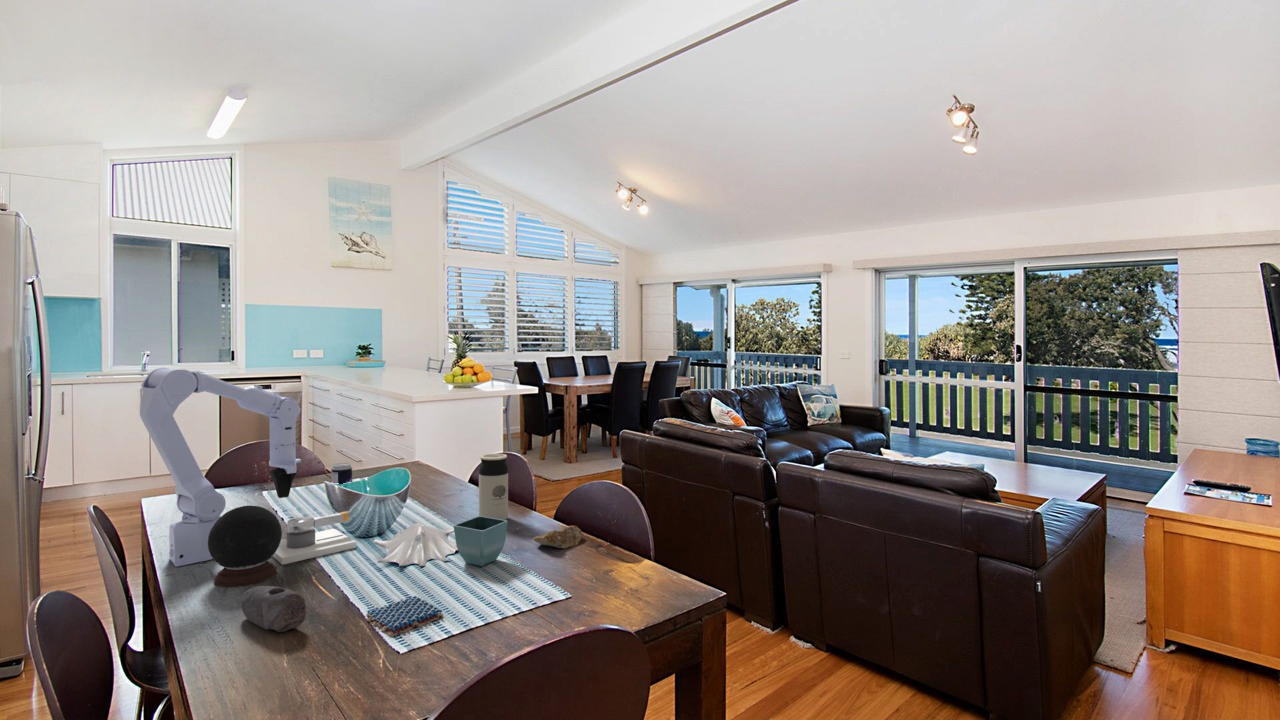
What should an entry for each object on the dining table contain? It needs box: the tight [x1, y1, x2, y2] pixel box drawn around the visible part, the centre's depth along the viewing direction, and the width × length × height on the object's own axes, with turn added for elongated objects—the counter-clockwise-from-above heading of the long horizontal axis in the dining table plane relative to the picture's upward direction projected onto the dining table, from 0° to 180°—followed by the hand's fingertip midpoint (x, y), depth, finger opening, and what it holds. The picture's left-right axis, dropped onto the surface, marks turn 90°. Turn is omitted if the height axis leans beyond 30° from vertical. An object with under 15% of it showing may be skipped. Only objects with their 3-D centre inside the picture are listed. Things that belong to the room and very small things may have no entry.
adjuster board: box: [272, 528, 357, 565], centre depth 147 cm, size 16×14×4 cm
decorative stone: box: [532, 525, 583, 550], centre depth 152 cm, size 10×4×15 cm
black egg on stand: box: [208, 505, 283, 589], centre depth 129 cm, size 13×13×15 cm
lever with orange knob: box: [286, 511, 350, 534], centre depth 148 cm, size 14×6×2 cm, turn 137°
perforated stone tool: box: [240, 585, 307, 633], centre depth 108 cm, size 15×5×7 cm, turn 61°
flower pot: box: [453, 515, 508, 567], centre depth 140 cm, size 9×9×9 cm
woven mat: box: [364, 595, 444, 637], centre depth 111 cm, size 10×11×2 cm
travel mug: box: [478, 453, 509, 521], centre depth 172 cm, size 8×8×18 cm
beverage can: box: [330, 462, 353, 484], centre depth 187 cm, size 6×6×12 cm
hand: (283, 497), depth 156 cm, fingers closed
